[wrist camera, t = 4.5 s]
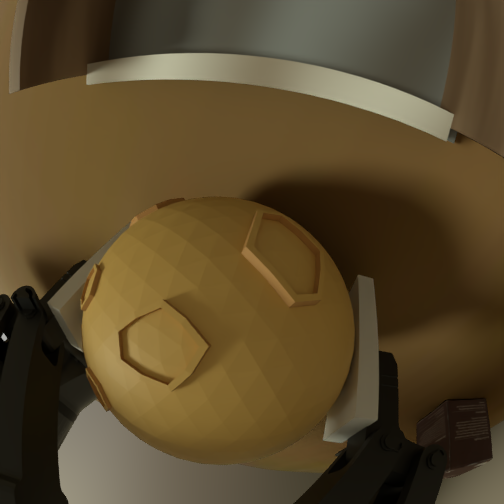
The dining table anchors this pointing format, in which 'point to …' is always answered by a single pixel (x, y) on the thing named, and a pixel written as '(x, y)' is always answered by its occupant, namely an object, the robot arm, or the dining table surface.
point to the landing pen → (286, 52)
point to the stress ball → (217, 330)
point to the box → (459, 434)
